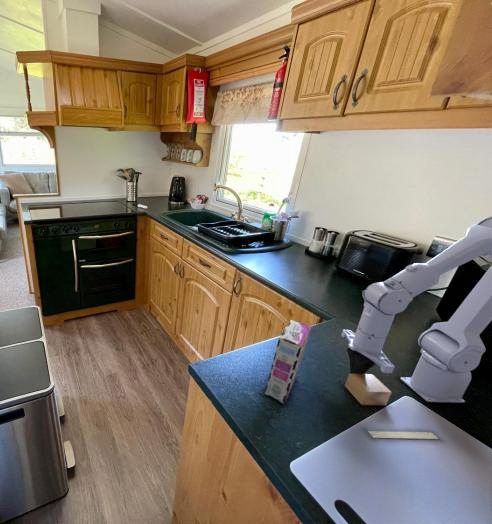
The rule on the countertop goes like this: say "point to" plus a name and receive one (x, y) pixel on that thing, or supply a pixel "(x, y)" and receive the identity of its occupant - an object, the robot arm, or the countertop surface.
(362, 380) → the maple block
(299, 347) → the candy bar box
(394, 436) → the tape line
